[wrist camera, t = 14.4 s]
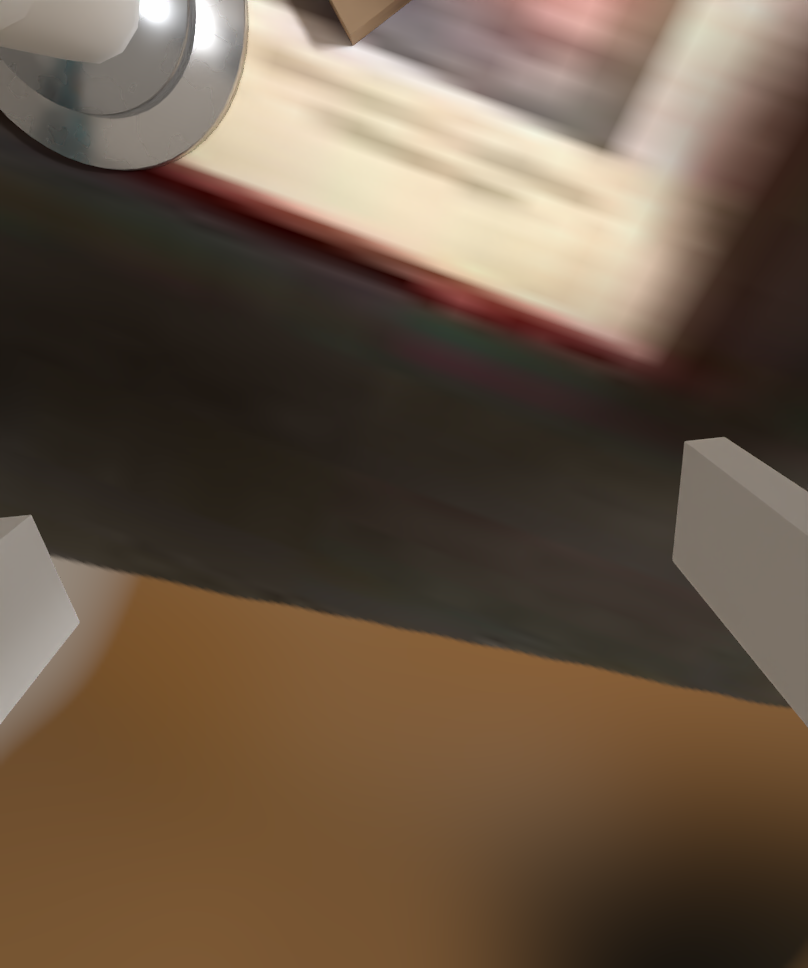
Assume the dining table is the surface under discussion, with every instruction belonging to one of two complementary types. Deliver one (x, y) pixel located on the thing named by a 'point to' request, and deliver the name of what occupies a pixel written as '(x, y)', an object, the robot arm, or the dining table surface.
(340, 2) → the stand
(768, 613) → the robot arm
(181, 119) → the grey plate
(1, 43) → the foam cup
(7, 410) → the dining table surface
